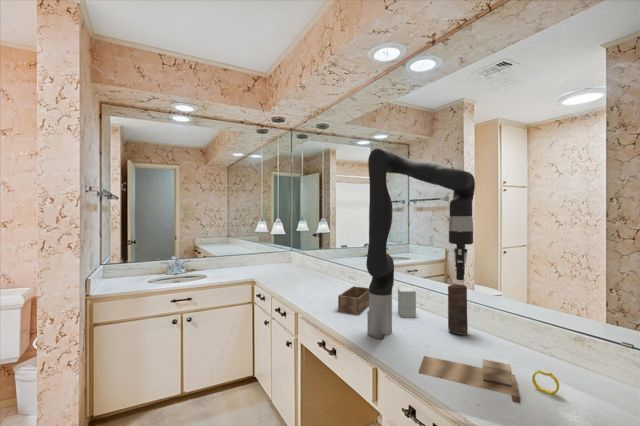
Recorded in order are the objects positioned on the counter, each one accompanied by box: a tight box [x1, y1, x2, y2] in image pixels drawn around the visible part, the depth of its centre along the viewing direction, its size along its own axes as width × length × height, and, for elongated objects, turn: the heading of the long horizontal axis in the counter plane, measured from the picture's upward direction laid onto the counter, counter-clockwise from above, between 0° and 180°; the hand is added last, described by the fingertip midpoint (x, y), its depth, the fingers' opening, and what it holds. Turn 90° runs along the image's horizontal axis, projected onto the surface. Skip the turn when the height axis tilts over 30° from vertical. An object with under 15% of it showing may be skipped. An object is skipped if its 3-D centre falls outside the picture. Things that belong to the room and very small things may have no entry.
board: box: [418, 355, 521, 403], centre depth 91 cm, size 26×12×2 cm, turn 63°
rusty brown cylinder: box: [447, 283, 469, 336], centre depth 125 cm, size 8×7×20 cm
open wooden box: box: [337, 285, 369, 316], centre depth 158 cm, size 11×21×8 cm, turn 153°
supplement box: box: [397, 286, 417, 319], centre depth 146 cm, size 7×7×13 cm
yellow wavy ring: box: [531, 367, 560, 395], centre depth 85 cm, size 6×3×6 cm, turn 42°
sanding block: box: [482, 359, 513, 387], centre depth 88 cm, size 7×4×4 cm, turn 63°
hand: (460, 277), depth 102 cm, fingers open, 8 cm apart
